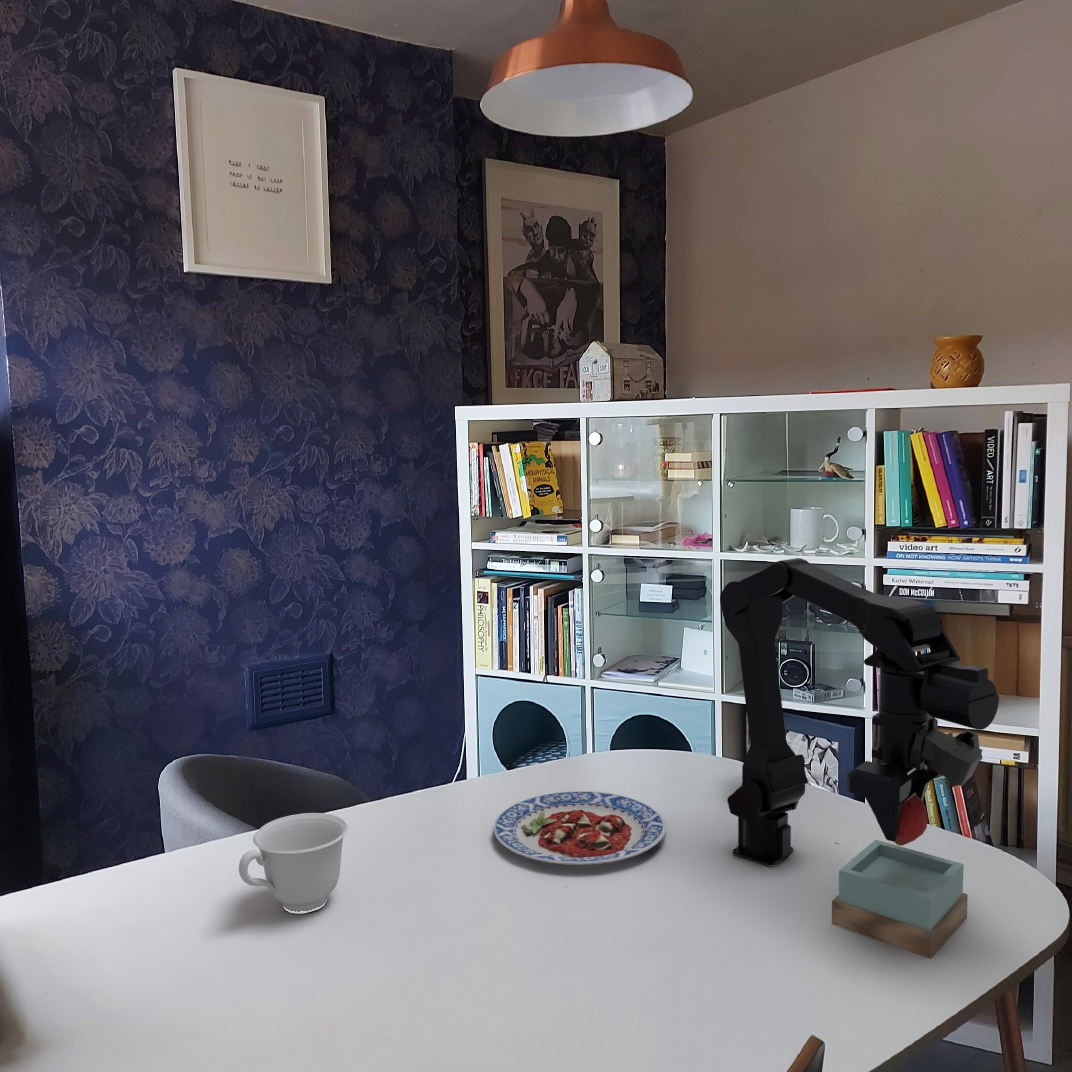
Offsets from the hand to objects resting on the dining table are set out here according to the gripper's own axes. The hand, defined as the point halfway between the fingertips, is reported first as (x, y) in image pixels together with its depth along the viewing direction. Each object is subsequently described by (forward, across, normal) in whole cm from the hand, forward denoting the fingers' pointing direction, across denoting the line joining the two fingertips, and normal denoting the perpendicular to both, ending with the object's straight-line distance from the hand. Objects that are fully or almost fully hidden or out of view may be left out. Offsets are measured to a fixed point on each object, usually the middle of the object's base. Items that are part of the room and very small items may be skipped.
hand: (900, 831), depth 117 cm
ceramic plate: (+12, -6, +46) cm, 48 cm away
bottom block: (+12, 0, 0) cm, 12 cm away
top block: (+8, 0, 0) cm, 8 cm away
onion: (+2, 0, 0) cm, 2 cm away
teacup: (+12, -46, +61) cm, 77 cm away
